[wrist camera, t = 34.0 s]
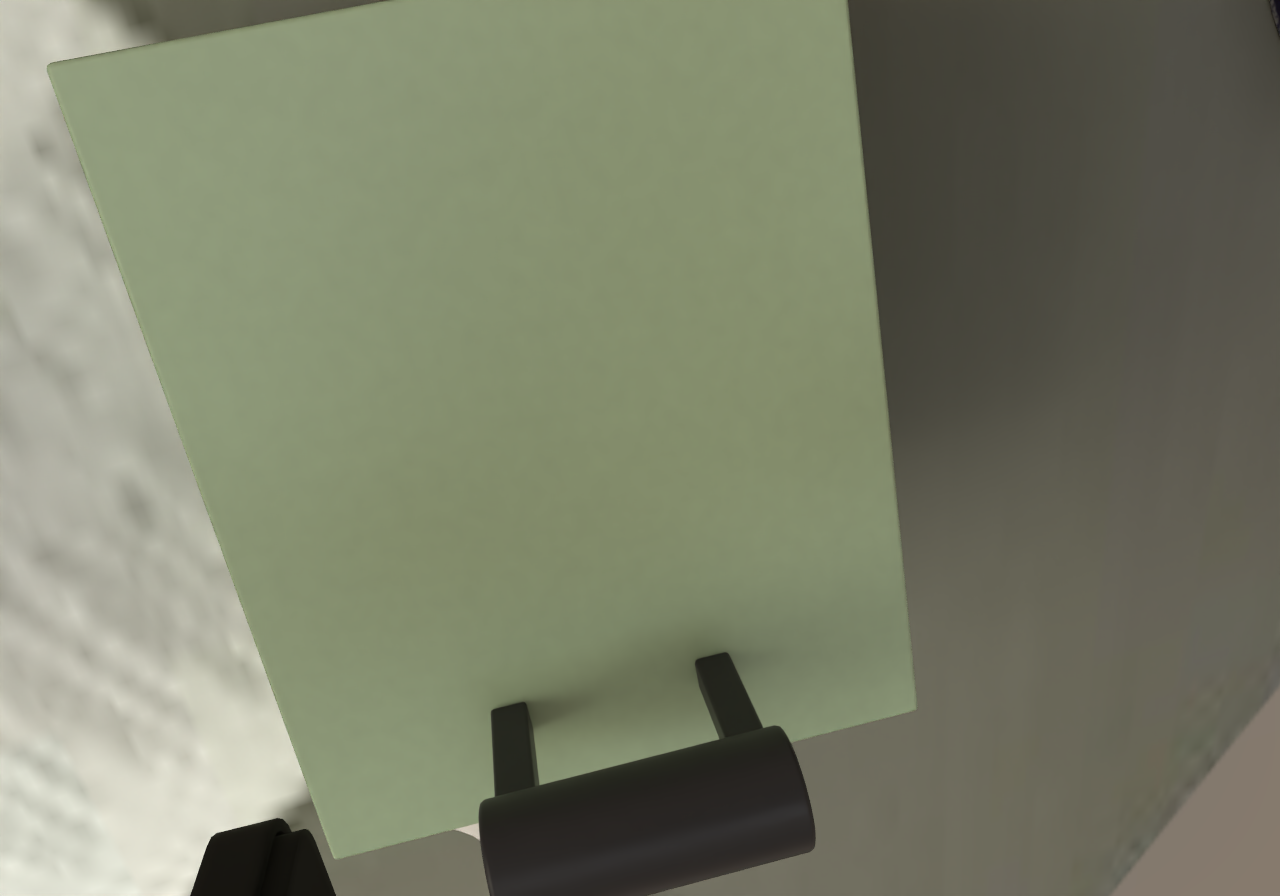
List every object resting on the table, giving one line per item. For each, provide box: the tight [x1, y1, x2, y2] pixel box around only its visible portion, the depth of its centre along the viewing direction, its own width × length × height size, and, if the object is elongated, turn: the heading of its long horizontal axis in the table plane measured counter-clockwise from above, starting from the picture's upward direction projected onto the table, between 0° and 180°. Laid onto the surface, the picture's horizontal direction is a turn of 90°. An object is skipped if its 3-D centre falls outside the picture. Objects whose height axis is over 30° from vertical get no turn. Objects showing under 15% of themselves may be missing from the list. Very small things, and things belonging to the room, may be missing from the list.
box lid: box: [47, 0, 917, 896], centre depth 16 cm, size 15×12×6 cm
